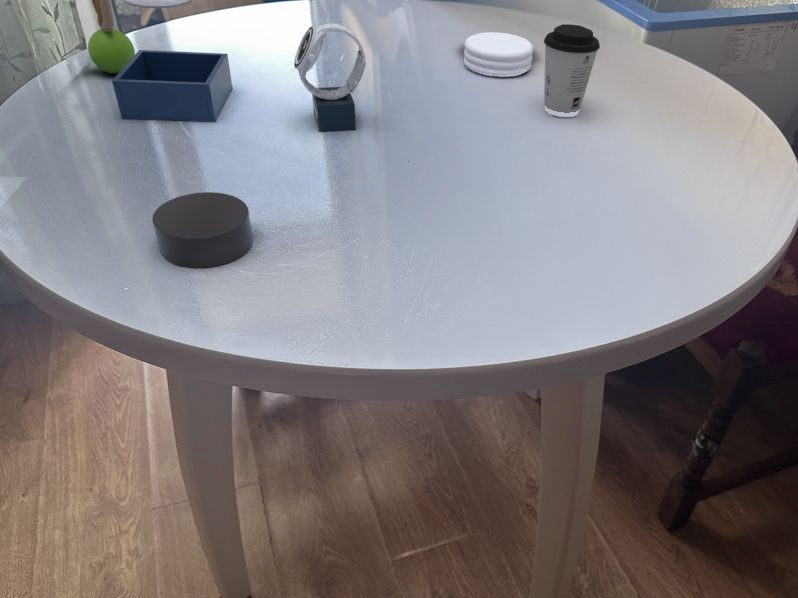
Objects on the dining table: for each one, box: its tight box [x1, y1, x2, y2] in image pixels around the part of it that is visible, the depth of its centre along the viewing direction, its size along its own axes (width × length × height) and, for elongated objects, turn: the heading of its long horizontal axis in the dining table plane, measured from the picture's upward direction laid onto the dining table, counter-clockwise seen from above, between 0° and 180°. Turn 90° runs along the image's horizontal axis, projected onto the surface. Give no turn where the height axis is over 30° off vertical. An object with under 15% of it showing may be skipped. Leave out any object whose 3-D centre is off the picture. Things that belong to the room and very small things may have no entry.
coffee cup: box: [543, 23, 601, 113], centre depth 90 cm, size 7×7×10 cm
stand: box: [151, 191, 254, 269], centre depth 63 cm, size 8×8×3 cm
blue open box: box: [111, 49, 233, 123], centre depth 86 cm, size 11×11×4 cm
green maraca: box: [87, 0, 136, 75], centre depth 90 cm, size 5×6×12 cm
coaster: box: [463, 31, 534, 75], centre depth 104 cm, size 10×10×4 cm
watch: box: [293, 21, 367, 133], centre depth 83 cm, size 6×8×11 cm
